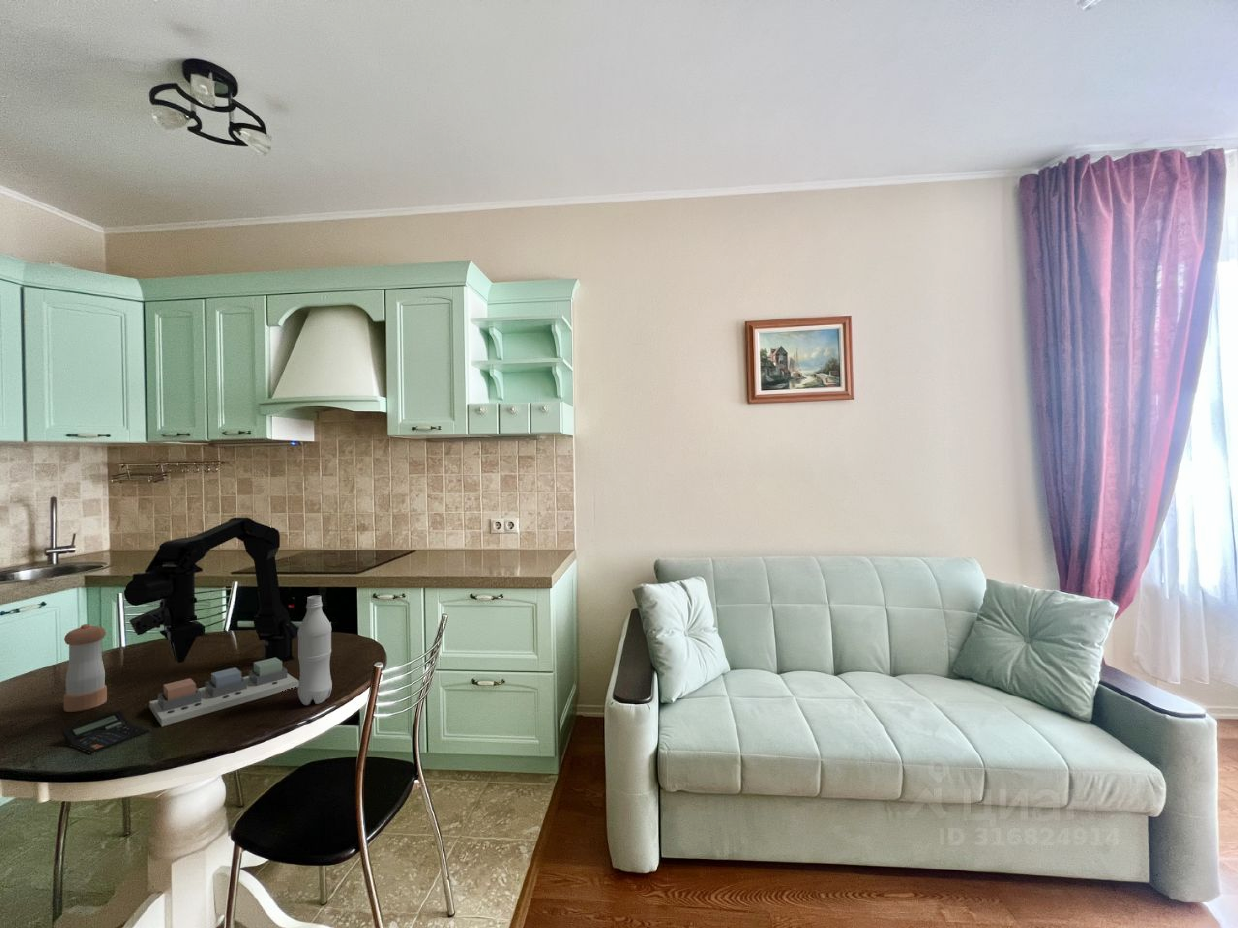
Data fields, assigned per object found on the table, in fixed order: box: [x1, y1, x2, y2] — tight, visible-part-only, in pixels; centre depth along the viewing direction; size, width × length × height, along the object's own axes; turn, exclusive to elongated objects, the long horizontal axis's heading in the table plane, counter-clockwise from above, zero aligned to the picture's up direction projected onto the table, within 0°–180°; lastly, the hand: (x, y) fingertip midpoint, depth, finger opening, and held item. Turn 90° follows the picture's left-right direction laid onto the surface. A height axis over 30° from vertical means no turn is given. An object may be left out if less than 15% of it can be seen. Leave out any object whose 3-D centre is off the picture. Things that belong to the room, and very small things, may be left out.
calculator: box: [61, 710, 150, 753], centre depth 112 cm, size 9×12×3 cm
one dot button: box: [253, 657, 283, 676], centre depth 139 cm, size 5×5×2 cm
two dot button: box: [210, 667, 242, 688], centre depth 132 cm, size 5×5×2 cm
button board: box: [148, 665, 299, 727], centre depth 131 cm, size 27×14×4 cm, turn 140°
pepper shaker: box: [63, 623, 108, 713], centre depth 127 cm, size 7×7×19 cm
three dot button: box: [163, 678, 197, 701], centre depth 125 cm, size 5×5×2 cm
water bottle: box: [297, 595, 333, 706], centre depth 129 cm, size 7×7×25 cm
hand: (179, 661), depth 125 cm, fingers closed
